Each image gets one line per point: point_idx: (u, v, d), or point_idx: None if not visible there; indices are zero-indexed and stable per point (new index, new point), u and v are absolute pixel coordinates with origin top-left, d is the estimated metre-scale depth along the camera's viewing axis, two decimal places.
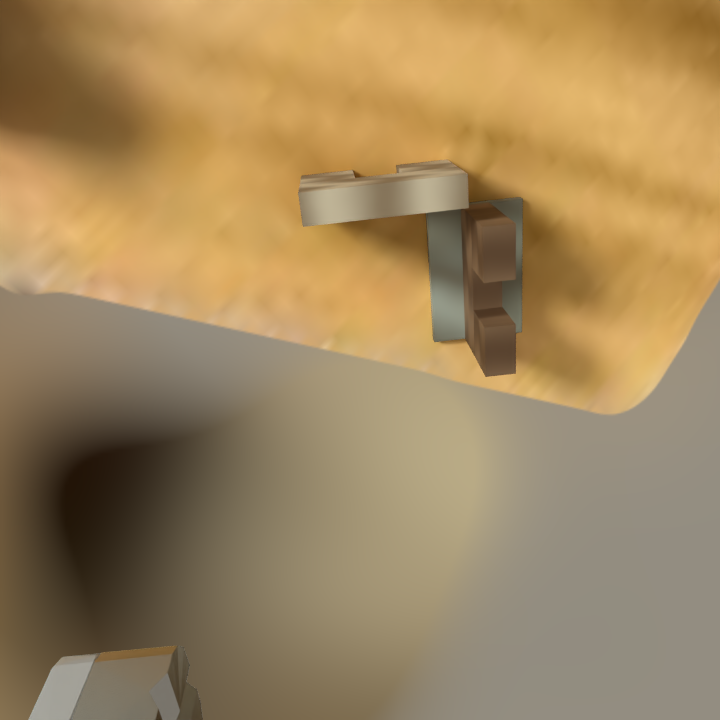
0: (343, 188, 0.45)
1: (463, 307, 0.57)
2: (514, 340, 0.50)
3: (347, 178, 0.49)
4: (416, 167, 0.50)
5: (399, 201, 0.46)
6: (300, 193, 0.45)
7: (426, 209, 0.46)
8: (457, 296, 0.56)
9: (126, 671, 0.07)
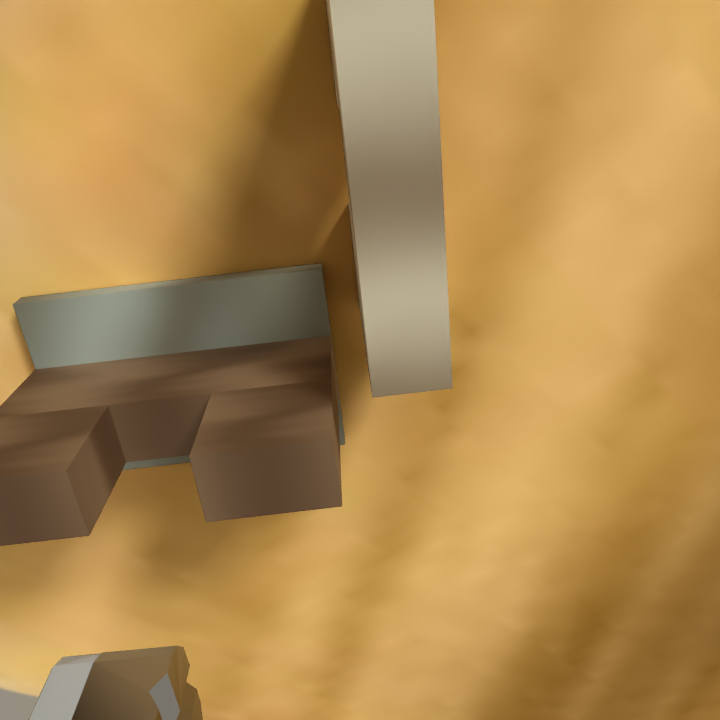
0: (434, 64, 0.15)
1: (109, 360, 0.26)
2: (44, 538, 0.20)
3: None
4: None
5: (393, 228, 0.17)
6: None
7: (370, 300, 0.18)
8: (132, 346, 0.26)
9: (126, 671, 0.07)
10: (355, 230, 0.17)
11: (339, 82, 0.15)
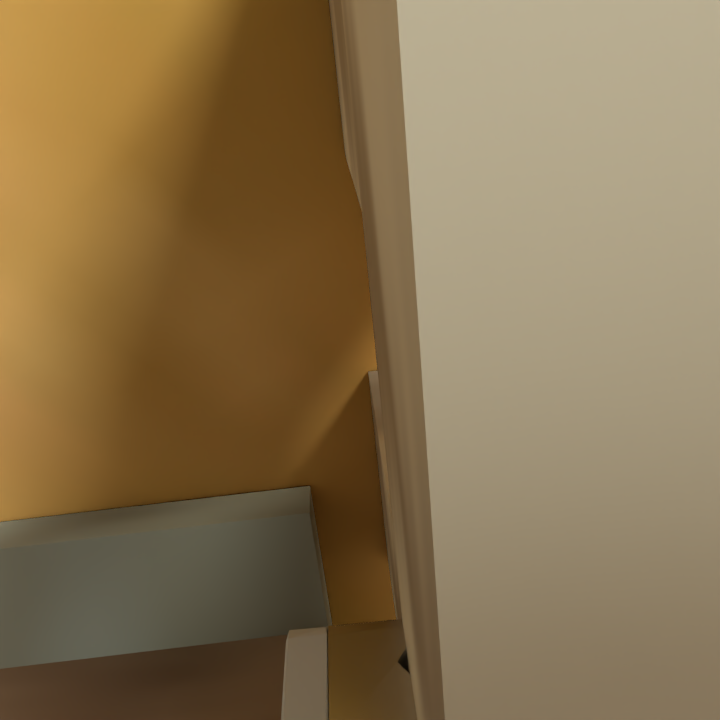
0: None
1: None
2: None
3: None
4: None
5: None
6: None
7: None
8: None
9: (364, 642, 0.08)
10: None
11: (417, 180, 0.02)
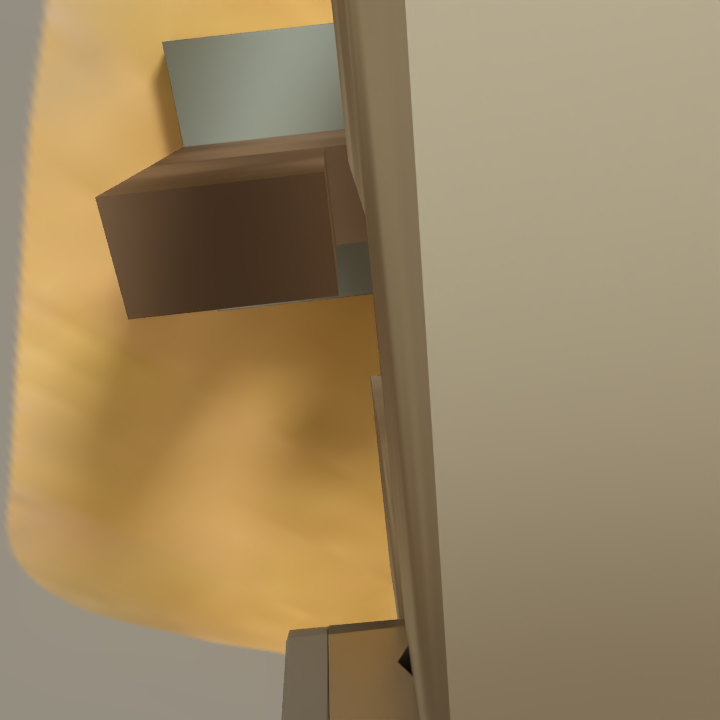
0: None
1: (285, 133, 0.19)
2: (271, 298, 0.13)
3: None
4: None
5: None
6: None
7: None
8: (318, 113, 0.19)
9: (365, 642, 0.08)
10: None
11: (424, 183, 0.02)
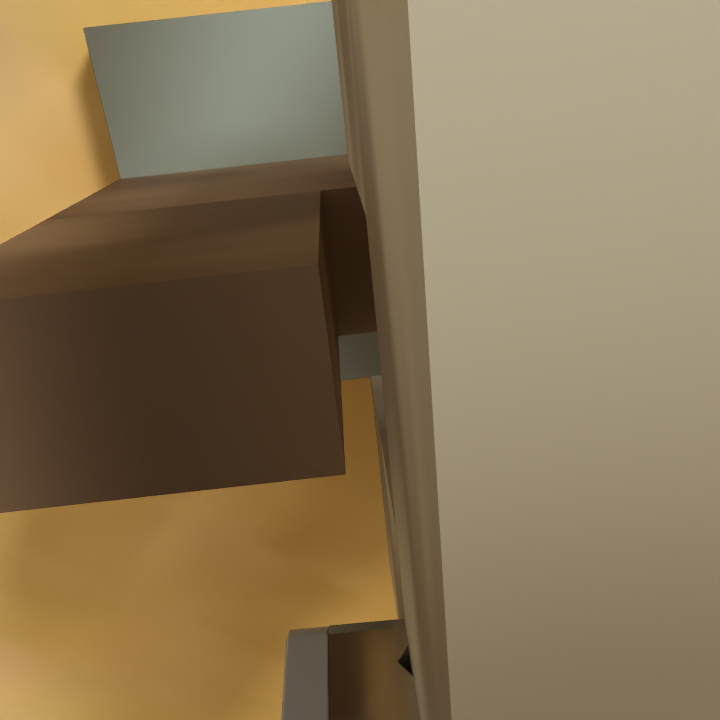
0: None
1: (265, 160, 0.13)
2: (223, 480, 0.07)
3: None
4: None
5: None
6: None
7: None
8: (312, 131, 0.13)
9: (365, 643, 0.08)
10: None
11: (426, 183, 0.02)
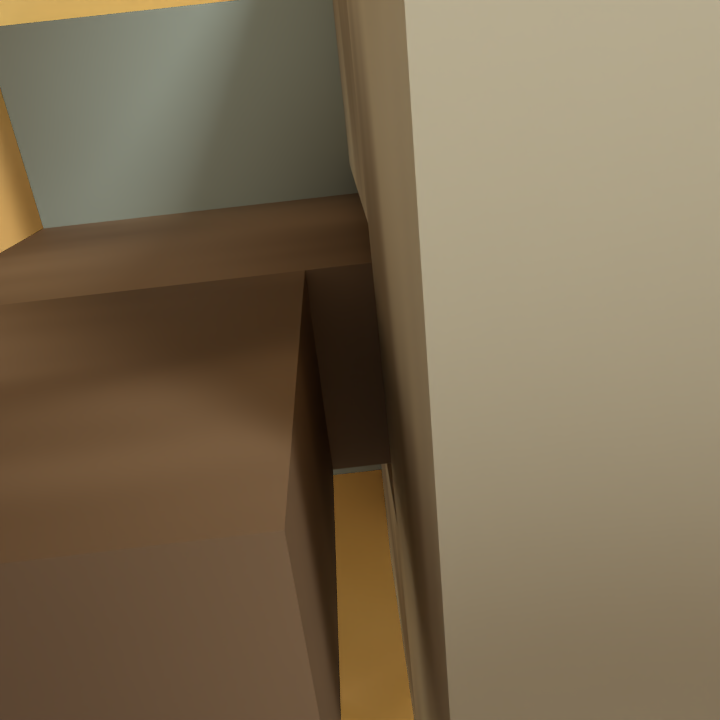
0: None
1: (235, 203, 0.10)
2: None
3: None
4: None
5: None
6: None
7: None
8: (297, 165, 0.10)
9: None
10: None
11: (424, 217, 0.02)
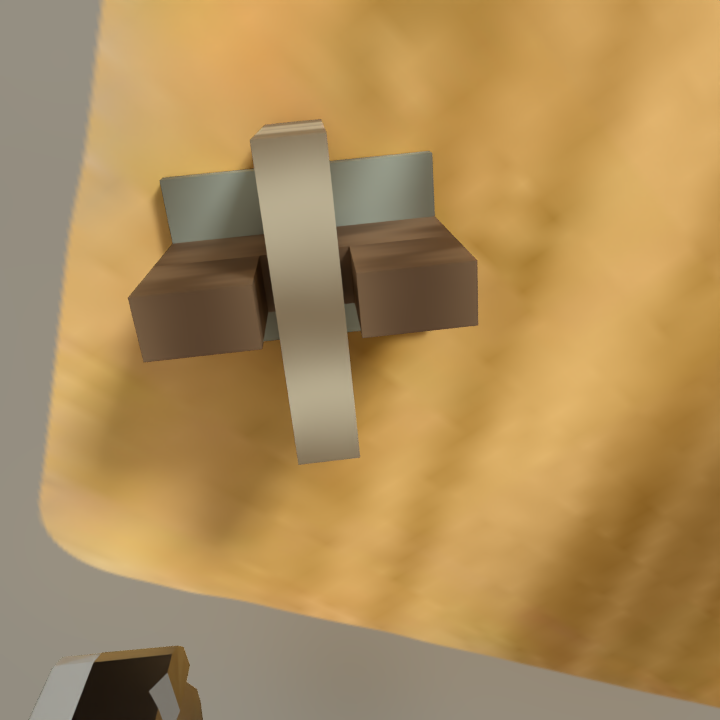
0: (335, 233, 0.21)
1: (239, 235, 0.29)
2: (224, 350, 0.23)
3: None
4: None
5: (309, 343, 0.23)
6: (324, 137, 0.20)
7: (294, 394, 0.24)
8: (260, 222, 0.29)
9: (126, 671, 0.07)
10: (281, 345, 0.23)
11: (266, 245, 0.21)
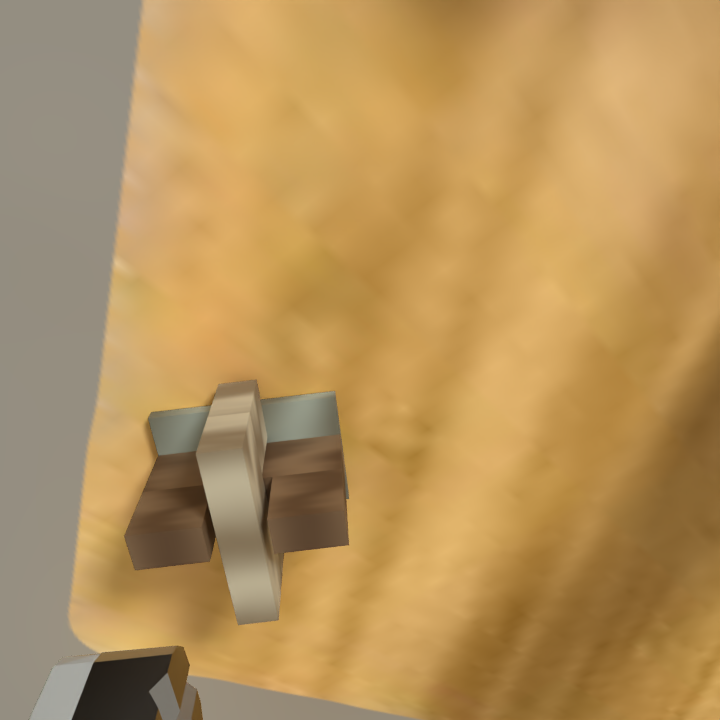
0: (251, 498, 0.34)
1: None
2: (185, 562, 0.36)
3: (260, 463, 0.38)
4: None
5: (240, 557, 0.36)
6: (241, 450, 0.33)
7: (232, 585, 0.37)
8: None
9: (126, 671, 0.07)
10: (222, 558, 0.36)
11: (209, 506, 0.34)
